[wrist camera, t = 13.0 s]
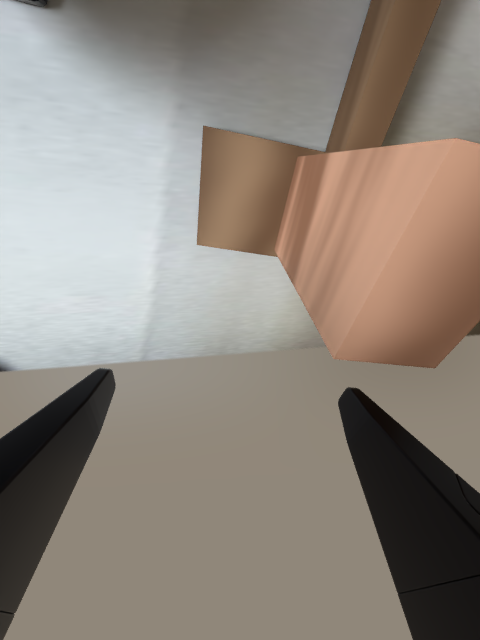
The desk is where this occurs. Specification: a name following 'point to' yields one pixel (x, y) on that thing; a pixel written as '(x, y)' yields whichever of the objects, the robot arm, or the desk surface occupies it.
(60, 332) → the desk surface
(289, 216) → the wooden l-shaped stand
